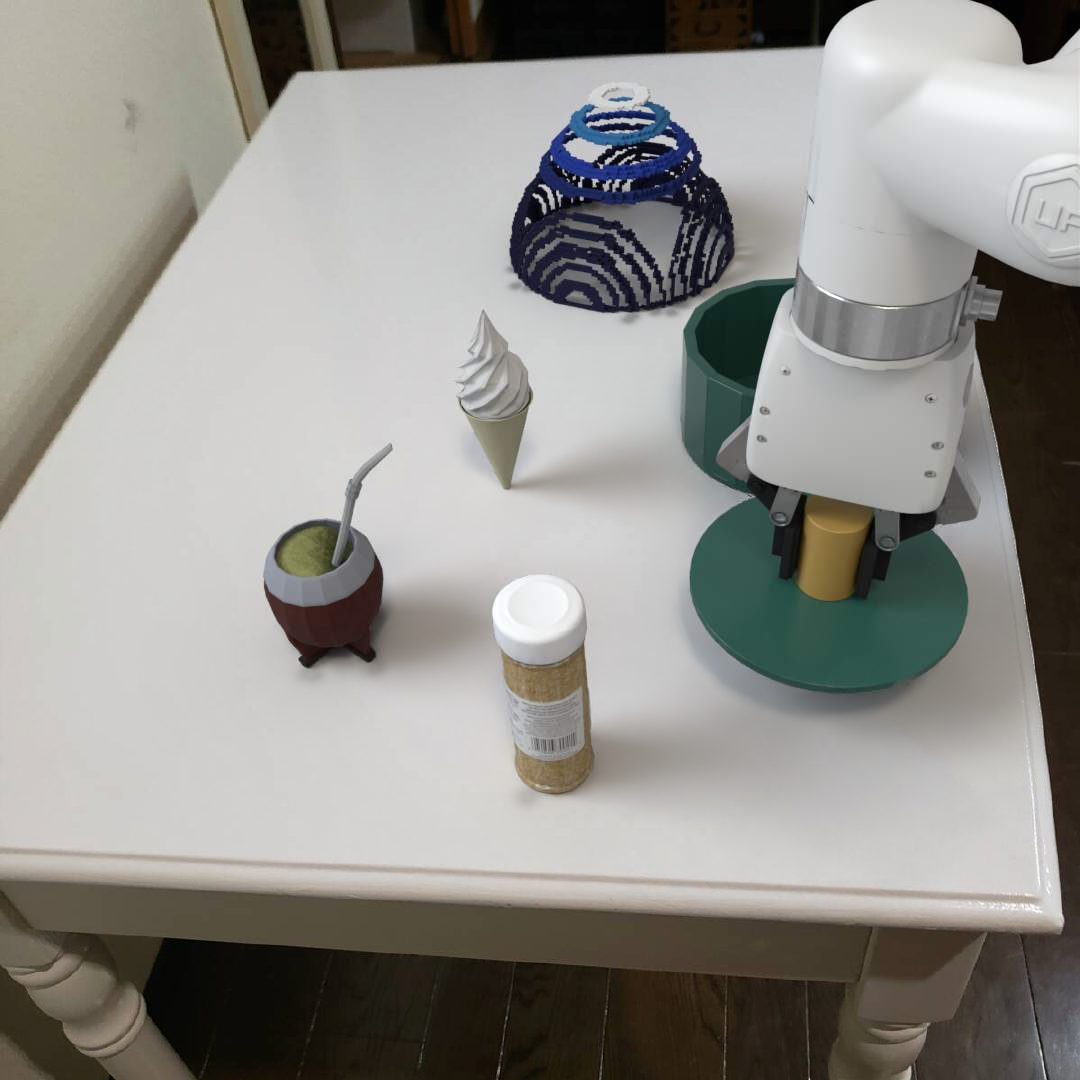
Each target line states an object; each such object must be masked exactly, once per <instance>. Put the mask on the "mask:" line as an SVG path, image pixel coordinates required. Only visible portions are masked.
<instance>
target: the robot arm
mask: <svg viewBox="0 0 1080 1080" xmlns="http://www.w3.org/2000/svg"><path fill="white" fill-rule="evenodd" d="M1021 41H1022V40H1021V37H1020V35H1019V33H1018V31H1017V29H1016V27H1015V26H1014V24H1013V23H1012V22H1011V21H1010V20H1009V19H1008V18H1007V17H1005V15H1003V14H1002V13H1001V12H1000V11H998V10H996V9H994V8H993V7H990V6H988V5H985V4H983V3H980V2H976V1H973V0H872V1H869V2H866V3H864V4H862V5H860V6H858V7H855V8H854V9H853V10H850V11H849V12H848V13H846V14H845V15H844V16H843V17H841V18H840V19H839V21H838V22H836V24H835V25H834V27H833V28H832V30H831V31H830V33H829V35H828V37H827V39H826V42H825V45H824V47H823V50H822V55H821V61H820V67H819V73H818V81H817V90H816V99H815V105H814V113H813V123H812V131H811V139H810V148H809V155H808V166H807V173H806V181H805V182H806V183H805V191H804V197H803V198H804V199H803V209H802V215H801V224H800V232H799V233H800V234H799V241H798V250H797V261H796V268H795V276H794V278H795V285H794V287H793V288H791V289H790V290H788V291H787V292H786V293H785V294H784V295H783V297H782V299H781V301H780V304H779V306H778V309H777V312H776V315H775V317H774V321H773V324H772V328H771V331H770V335H769V338H768V342H767V345H766V349H765V353H764V356H763V360H762V365H761V369H760V373H759V378H758V383H757V388H756V393H755V399H754V404H753V410H752V415H750V416H749V417H748V418H747V419H746V420H745V421H744V422H743V423H742V424H741V425H740V426H739V427H738V428H737V429H736V430H735V431H734V432H733V433H732V434H731V435H730V436H729V437H728V438H727V439H726V440H725V441H724V442H723V444H722V446H721V448H720V450H719V452H718V455H717V457H716V461H717V463H718V464H719V465H720V466H721V467H723V468H724V469H725V470H727V471H728V472H729V473H731V474H732V475H734V476H735V477H736V478H738V479H739V480H744V481H745V482H746V483H747V487H748V489H749V490H750V491H751V492H752V493H753V494H754V495H753V494H752V495H753V496H754V497H757V498H758V499H759V500H760V501H761V503H762V504H763V505H764V506H765V507H766V508H767V509H768V510H769V511H770V514H769V519H770V521H771V522H772V523H773V524H774V525H775V529H774V537H773V545H772V555H777V556H781V563H780V571H779V578H781V579H785V580H788V578H791V579H792V577H793V574H794V571H795V568H796V562H797V556H798V549H799V542H800V536H801V529H802V522H803V515H804V508H805V503H806V501H807V495H805V494H802V492H806V493H811V494H815V495H819V496H824V497H828V498H833V499H837V500H842V501H846V502H851V503H856V504H860V505H865V506H870V507H875V516H873V519H872V522H871V527H870V532H869V534H868V536H867V539H866V543H865V546H864V550H863V555H862V559H861V564H860V569H859V574H858V579H857V583H856V588H855V593H854V594H856V595H858V596H857V597H858V598H862V599H866V600H867V596H868V593H869V589H870V586H871V582H872V579H876V580H881V581H885V579H886V575H887V571H888V567H889V563H890V559H891V555H892V551H894V550H896V549H897V548H898V546H899V542H901V541H904V540H906V539H909V538H911V537H914V536H916V535H919V534H921V533H924V532H926V531H929V530H931V529H932V530H933V529H935V526H938V525H942V526H946V525H947V526H948V525H954V524H958V523H965V522H969V521H970V522H971V521H974V520H975V519H977V517H978V515H979V510H980V505H981V502H982V500H981V494H980V492H979V490H978V489H977V487H976V484H975V482H974V480H973V478H972V476H971V474H970V472H969V470H968V468H967V466H966V464H965V462H964V459H963V457H962V455H961V454H960V451H959V447H960V443H961V438H962V434H963V429H964V425H965V419H966V414H967V409H968V404H969V399H970V396H971V395H970V394H971V388H972V382H973V376H974V369H975V368H974V367H975V357H976V324H975V322H978V319H980V320H986V321H990V322H996V318H997V315H998V312H999V308H1000V303H1001V299H1002V296H1003V292H1004V291H1003V290H998V289H991V288H986V285H985V284H980V283H978V279H979V276H976V275H972V273H973V270H974V267H975V262H976V258H977V254H978V250H979V251H981V252H983V253H985V254H987V255H988V256H991V257H992V258H994V259H997V260H998V261H1000V262H1002V263H1004V264H1006V265H1008V266H1010V267H1012V268H1014V269H1016V270H1019V271H1021V272H1023V273H1025V274H1028V275H1031V276H1033V277H1036V278H1039V279H1042V280H1044V281H1047V282H1052V283H1055V284H1060V285H1064V286H1069V287H1080V29H1078V31H1076V32H1075V34H1074V35H1073V36H1072V37H1071V38H1070V39H1069V40H1068V41H1067V42H1066V43H1065V44H1064V45H1063V46H1062V47H1061V48H1060V49H1059V51H1058V52H1057V53H1056V54H1055V55H1054V56H1053V58H1050V59H1047V60H1045V61H1040V62H1037V63H1032V64H1027V63H1025V62H1024V59H1023V55H1024V54H1023V48H1022V47H1023V45H1022V42H1021Z"/></svg>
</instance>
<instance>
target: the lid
mask: <svg viewBox="0 0 1080 1080" xmlns="http://www.w3.org/2000/svg"><path fill="white" fill-rule="evenodd" d="M802 494H805V495H807V501H806V503H805V508H804V515H803V522H802V529H801V536H800V542H799V549H798V556H797V562H796V568H795V571H794V574H793V577H792V579H791V578H788V580H785V579H781V578H779V571H780V563H781V556H777V555H772V545H773V537H774V529H775V525H774V524H773V523H772V522H771V521H770V519H769V514H770V511H769V510H768V509H767V508H766V507H765V506H764V505H763V504H762V503H761V501H760V500H759V499H758V498H757V497H756V496H753V497H750V498H748V499H746V500H743V501H742V502H739V503H738V504H736V505H734V506H732V507H730V508H729V509H728V510H726V511H725V512H724V513H722V514H720V515H719V516H718V517H717V518H716V519H715V520H714V521H712V523H711V524H710V525H709V526H708V527H707V528H706V529H705V531H704V532H703V533H702V535H701V536H700V538H699V540H698V542H697V544H696V545H695V547H694V551H693V553H692V556H691V560H690V567H689V592H690V598H691V601H692V602H691V603H692V605H693V607H694V610H695V613H696V616H697V617H698V619H699V620H700V622H701V624H702V626H703V628H704V629H705V630H706V632H707V633H708V634H709V636H710V637H711V638H712V639H713V640H714V642H715V643H716V644H717V645H718V646H719V647H720V648H722V649H723V651H725V652H726V654H728V655H730V657H732V658H733V659H735V660H736V661H737V662H739V663H740V664H742V665H743V666H745V667H746V668H748V669H750V670H752V671H753V672H755V673H756V674H759V675H761V676H764V677H765V678H768V679H770V680H772V681H774V682H778V683H781V684H783V685H786V686H790V687H793V688H796V689H802V690H806V691H810V692H816V693H817V692H818V693H826V694H842V695H843V694H846V695H848V694H850V695H853V694H865V693H873V692H877V691H883V690H888V689H891V688H894V687H898V686H901V685H903V684H907V683H909V682H910V681H913V680H915V679H917V678H919V677H921V676H922V675H924V674H926V673H927V672H928V671H930V670H932V669H933V668H935V667H937V665H938V664H939V663H941V662H942V661H943V660H944V659H945V658H946V657H947V656H948V654H949V653H950V652H951V651H952V649H953V648H954V647H955V645H956V644H957V642H958V640H959V638H960V636H961V634H962V632H963V629H964V626H965V622H966V619H967V615H968V610H969V591H968V584H967V581H966V577H965V573H964V572H963V569H962V567H961V565H960V563H959V560H958V559H957V557H956V556H955V554H954V553H953V551H952V550H951V549H950V547H949V545H948V544H946V542H945V541H944V540H943V538H941V536H939V535H938V534H937V533H936V532H935V531H934V530H933V529H931V530H929V531H926V532H924V533H921V534H919V535H916V536H914V537H911V538H909V539H906V540H904V541H901V542H899V546H898V548H897V549H896V550H894V551H892V555H891V559H890V563H889V567H888V571H887V575H886V579H885V581H881V580H876V579H872V582H871V586H870V589H869V593H868V596H867V600H866V599H862V598H858V597H857V596H858V595H856V594H854V593H855V588H856V583H857V579H858V574H859V569H860V564H861V559H862V555H863V550H864V546H865V543H866V539H867V536H868V534H869V532H870V527H871V522H872V519H873V516H875V507H870V506H865V505H860V504H856V503H851V502H846V501H842V500H837V499H833V498H828V497H824V496H819V495H815V494H811V493H806V492H802Z"/></svg>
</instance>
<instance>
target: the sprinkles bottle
mask: <svg viewBox="0 0 1080 1080" xmlns="http://www.w3.org/2000/svg"><path fill="white" fill-rule="evenodd" d="M491 617H492V624H493V633H494V638H495V641H496V643H497V644H498V648H499V650H500V653H501V659H502V675H503V684H504V689H505V690H504V691H505V696H506V703H507V711H508V717H509V724H510V730H511V731H510V732H511V737H512V739H513V745H514V750H515V751H514V752H515V754H514V755H515V756H514V766H515V769H516V772H517V775H518V777H519V778H520V779H521V781H522V782H523V783H525V784H526V785H527V786H528V787H529V788H531V789H534V790H535V791H538V792H540V793H546V794H561V793H565V792H568V791H572V790H573V789H575V788H577V787H579V786H580V785H581V784H582V783H584V782H585V781H586V780H587V778H588V777H589V775H590V774H591V772H592V771H593V768H594V764H595V763H594V761H595V753H594V750H593V745H592V735H591V729H592V714H591V711H592V710H591V697H590V689H589V686H588V685H589V684H588V683H589V682H588V673H587V659H586V649H585V648H586V647H585V641H586V635H587V631H588V623H587V611H586V603H585V600H584V597H583V595H582V593H581V591H580V590H579V589H578V588H577V586H575V585H574V584H573V583H572V582H571V581H569V580H567V579H565V578H563V577H560V576H558V575H553V574H547V573H537V574H529V575H524V576H521V577H518V578H516V579H515V580H513V581H511V582H509V583H508V584H507V585H505V586H504V587H503V588H502V589H501V590H500V591H499V593H498V594H497V596H496V597H495V599H494V602H493V605H492V609H491Z"/></svg>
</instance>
